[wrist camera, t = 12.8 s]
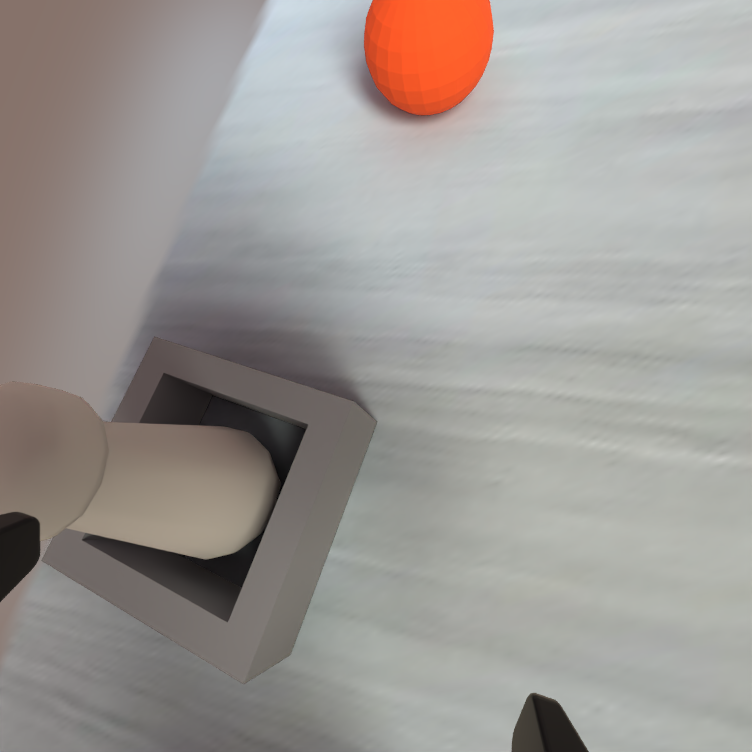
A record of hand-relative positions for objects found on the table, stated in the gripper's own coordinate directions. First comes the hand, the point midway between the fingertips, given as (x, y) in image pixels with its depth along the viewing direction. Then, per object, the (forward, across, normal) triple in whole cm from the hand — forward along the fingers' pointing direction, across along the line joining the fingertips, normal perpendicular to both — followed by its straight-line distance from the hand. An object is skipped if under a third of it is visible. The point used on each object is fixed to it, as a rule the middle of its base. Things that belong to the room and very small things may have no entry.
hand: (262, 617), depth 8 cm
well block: (+13, +6, +7) cm, 16 cm away
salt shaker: (+13, +6, +7) cm, 16 cm away
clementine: (+26, +2, -16) cm, 30 cm away
